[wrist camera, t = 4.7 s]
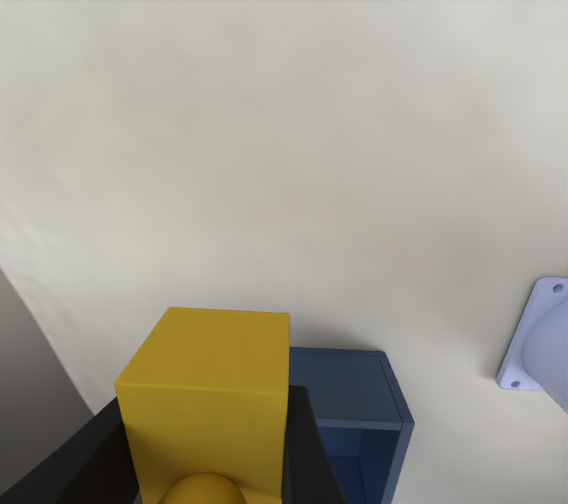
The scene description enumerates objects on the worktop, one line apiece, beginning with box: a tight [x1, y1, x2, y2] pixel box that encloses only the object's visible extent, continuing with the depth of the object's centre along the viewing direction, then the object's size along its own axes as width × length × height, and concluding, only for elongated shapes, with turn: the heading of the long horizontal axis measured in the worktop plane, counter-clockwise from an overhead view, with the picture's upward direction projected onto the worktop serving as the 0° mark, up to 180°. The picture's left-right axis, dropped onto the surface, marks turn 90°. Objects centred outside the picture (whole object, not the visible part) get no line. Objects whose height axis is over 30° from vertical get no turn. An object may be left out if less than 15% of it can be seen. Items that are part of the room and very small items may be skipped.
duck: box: [114, 307, 290, 504], centre depth 8 cm, size 4×6×6 cm
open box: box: [281, 347, 415, 504], centre depth 18 cm, size 13×10×5 cm
